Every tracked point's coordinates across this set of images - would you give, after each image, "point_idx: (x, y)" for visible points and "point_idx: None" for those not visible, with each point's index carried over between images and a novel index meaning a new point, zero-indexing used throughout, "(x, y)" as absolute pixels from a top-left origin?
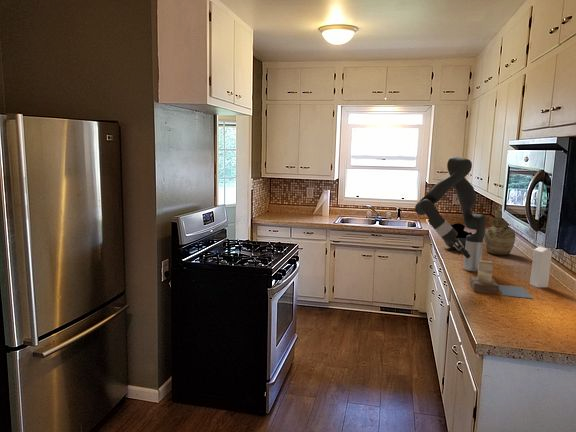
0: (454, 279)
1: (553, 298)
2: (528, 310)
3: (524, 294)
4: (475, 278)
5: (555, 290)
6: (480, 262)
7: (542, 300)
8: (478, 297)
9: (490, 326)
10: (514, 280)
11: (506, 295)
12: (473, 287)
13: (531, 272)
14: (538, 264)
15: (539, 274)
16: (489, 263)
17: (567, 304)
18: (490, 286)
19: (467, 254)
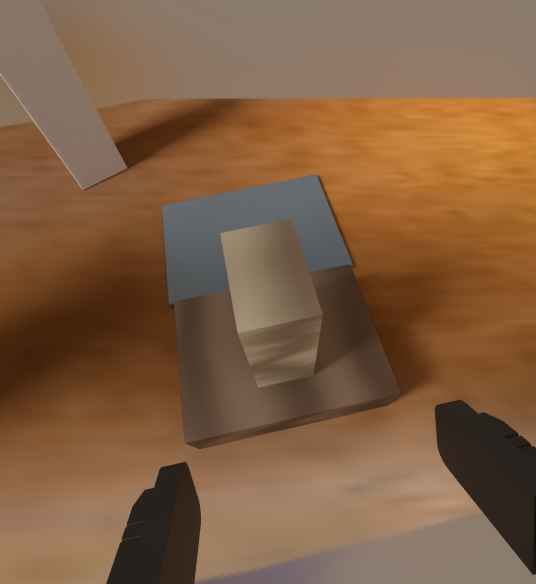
0: None
1: (260, 131)
2: (498, 184)
3: (280, 198)
4: (241, 399)
5: (144, 128)
6: (322, 314)
7: (313, 154)
8: (487, 372)
9: None
10: (38, 238)
11: (348, 254)
12: (361, 408)
13: (53, 143)
14: (61, 73)
15: (99, 116)
16: (300, 245)
17: (309, 105)
18: (364, 304)
19: (522, 448)
